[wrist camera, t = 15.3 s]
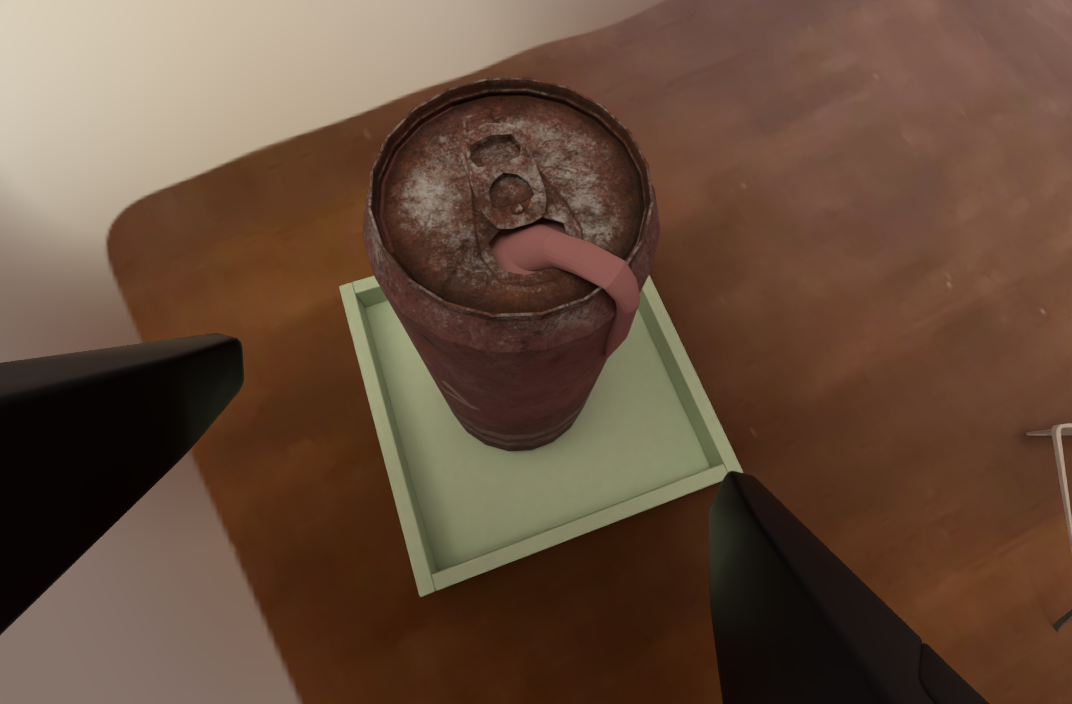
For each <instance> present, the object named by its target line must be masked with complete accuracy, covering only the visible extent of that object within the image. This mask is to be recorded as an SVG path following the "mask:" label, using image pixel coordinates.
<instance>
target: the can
mask: <svg viewBox="0 0 1072 704" xmlns="http://www.w3.org/2000/svg"><path fill="white" fill-rule="evenodd" d="M659 234H660V223H659V216H658V210H657V203H656V196H655V190H654V188H653V186H652V183H651V179H650V172H649V165H648V163H647V161H646V159H645V157H644V156H643V154H642V152H641V150H640V148H639V146H638V144H637V143H636V141H635V139H634V137H633V135H632V133H631V132H630V131H629V130H628V129H627V128H626V127H625V126H624V125H623V124H622V123H621V122H620V121H619V120H618V119H617V118H616V117H615V116H614V115H613V114H612V113H610V112H609V111H608V110H607V109H606V108H605V107H604V106H603V105H602V104H600V103H598V102H596V101H594V100H592V99H590V98H588V97H586V96H584V95H582V94H580V93H579V92H577V91H575V90H573V89H571V88H569V87H567V86H562V85H558V84H554V83H549V82H545V81H541V80H536V79H532V78H486V79H482V80H478V81H474V82H471V83H467V84H463V85H459V86H456V87H452V88H448V89H446V90H444V91H443V92H441V93H439V94H437V95H436V96H434V97H432V98H430V99H429V100H427V101H425V102H423V103H422V104H420V105H418V106H417V107H415V108H413V109H412V110H411V111H410V112H409V113H408V114H407V115H406V116H405V117H404V119H403V120H402V121H401V122H400V123H399V124H398V125H397V126H396V127H395V128H394V129H393V130H392V131H391V132H390V133H389V134H388V135H387V136H386V138H385V141H384V143H383V145H382V147H381V149H380V151H379V154H378V156H377V158H376V160H375V162H374V164H373V167H372V169H371V171H370V185H369V190H368V192H367V195H366V197H365V211H364V225H363V241H364V244H365V247H366V250H367V253H368V257H369V260H370V263H371V266H372V270H373V273H374V276H375V279H376V280H377V282H378V284H379V286H380V287H381V289H382V291H383V293H384V294H385V296H386V298H387V300H388V301H389V303H390V305H391V306H392V308H393V310H394V312H395V313H396V315H397V317H398V319H399V320H400V322H401V324H402V326H403V327H404V329H405V331H406V333H407V334H408V336H409V338H410V340H411V341H412V343H413V345H414V346H415V348H416V350H417V352H418V353H419V355H420V357H421V359H422V360H423V362H424V364H425V366H426V367H427V369H428V371H429V373H430V374H431V376H432V378H433V380H434V381H435V383H436V385H437V386H438V388H439V390H440V392H441V393H442V395H443V397H444V399H445V400H446V402H447V404H448V406H449V407H450V409H451V411H452V413H453V414H454V416H455V417H456V418H457V420H458V421H459V422H460V424H461V425H462V426H463V427H464V429H465V430H466V431H467V433H469V434H470V435H472V436H473V437H475V438H476V439H478V440H479V441H481V442H482V443H484V444H485V445H488V446H491V447H495V448H499V449H502V450H506V451H524V450H533V449H536V448H539V447H541V446H544V445H547V444H549V443H552V442H554V441H555V440H556V439H557V438H559V437H560V436H561V435H562V434H564V433H565V432H566V431H567V430H569V429H570V428H571V426H572V425H573V423H574V422H575V420H576V419H577V417H578V416H579V414H580V412H581V411H582V409H583V407H584V405H585V403H586V401H587V399H588V397H589V395H590V393H591V391H592V389H593V387H594V385H595V383H596V381H597V379H598V377H599V375H600V373H601V371H602V369H603V367H604V365H605V363H606V361H607V359H608V358H609V357H610V356H611V354H612V353H613V352H614V351H615V350H616V349H617V348H618V347H619V346H620V345H621V344H622V343H623V342H624V340H625V339H626V338H627V336H628V334H629V331H630V328H631V325H632V322H633V320H634V317H635V314H636V311H637V309H638V306H639V303H640V292H641V290H642V288H643V286H644V284H645V282H646V280H647V278H648V276H649V274H650V272H651V270H652V265H653V261H654V256H655V252H656V247H657V243H658V238H659Z"/></svg>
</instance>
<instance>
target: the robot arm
mask: <svg viewBox="0 0 1072 704" xmlns="http://www.w3.org/2000/svg"><path fill="white" fill-rule="evenodd" d="M243 381H244V368H243V351H242V344H241V342H240V341H239V340H238V339H237V338H234V337H230V336H226V335H223V334H218V333H213V334H205V335H198V336H191V337H184V338H177V339H169V340H162V341H155V342H148V343H140V344H134V345H127V346H119V347H112V348H104V349H97V350H90V351H84V352H76V353H69V354H62V355H54V356H47V357H40V358H32V359H25V360H18V361H11V362H3V363H0V635H1V634H2V633H3V632H4V631H5V630H6V629H7V628H8V627H9V626H10V625H11V624H12V623H13V622H14V621H15V620H16V619H17V618H18V617H19V616H20V615H21V614H22V613H23V612H24V611H25V610H27V609H28V608H29V607H30V606H31V605H32V604H33V603H34V602H35V601H36V600H37V599H38V598H39V597H40V596H41V595H42V594H43V593H44V592H45V591H46V590H47V589H48V588H49V587H50V586H51V585H52V584H53V583H54V582H55V581H56V580H57V579H58V578H59V577H60V576H61V575H62V574H64V573H65V572H66V571H67V570H68V569H69V568H70V567H71V566H72V565H73V564H74V563H75V562H76V561H77V560H78V559H79V558H80V557H81V556H82V555H83V554H84V553H85V552H86V551H87V550H88V549H89V548H90V547H91V546H92V545H93V544H94V543H95V542H96V541H97V540H98V539H99V538H100V537H102V536H103V535H104V533H106V531H108V530H109V529H110V527H112V526H113V525H114V524H115V523H116V522H117V521H118V520H119V519H120V518H121V517H122V516H123V515H124V514H125V513H126V512H127V511H128V510H129V509H130V508H131V507H132V506H133V505H134V504H135V503H136V502H137V501H138V500H139V499H140V498H142V497H143V496H144V495H145V494H146V493H147V491H149V490H150V489H151V488H152V487H153V486H154V485H155V484H156V483H157V482H158V481H159V480H160V479H161V478H162V477H163V476H164V475H165V474H166V473H167V472H168V471H169V470H170V469H171V468H172V467H173V466H174V465H175V464H176V463H177V462H178V461H179V460H180V459H181V458H182V457H183V456H184V455H185V454H186V453H187V452H188V451H189V450H190V449H191V448H192V447H193V445H194V444H195V443H196V442H197V441H198V440H199V439H200V437H201V436H202V435H203V434H204V433H205V431H206V430H207V429H208V428H209V427H210V425H211V424H212V423H213V422H214V421H215V420H216V418H217V417H218V416H219V415H220V414H221V412H222V411H223V410H224V409H225V408H226V406H227V405H228V404H229V403H230V402H231V400H232V399H233V398H234V397H235V396H236V395H237V393H238V392H239V391H240V389H241V387H242V385H243ZM709 592H710V607H711V616H712V624H713V631H714V639H715V647H716V654H717V662H718V670H719V677H720V685H721V693H722V700H723V704H989V703H988V702H987V701H986V700H985V699H984V698H983V697H982V696H981V695H980V694H978V693H977V692H976V691H975V690H974V689H973V688H972V687H971V686H970V685H969V684H968V683H967V682H966V681H965V680H964V679H963V678H962V677H960V676H959V675H958V674H957V673H956V672H955V671H954V670H953V669H952V668H951V667H950V666H949V665H948V664H947V663H946V662H945V661H944V660H943V659H942V658H941V657H940V656H939V655H938V654H937V653H936V652H935V651H934V650H933V649H932V648H931V647H930V646H928V645H927V644H925V643H923V644H922V640H921V638H920V637H919V636H918V635H917V634H916V633H915V632H914V631H913V630H912V629H911V628H910V627H909V626H908V625H907V624H906V623H905V622H904V621H903V620H901V619H900V618H899V617H898V616H897V615H896V614H895V613H894V612H893V611H892V610H891V609H890V608H889V607H888V606H887V605H886V604H885V603H884V602H883V601H882V600H881V599H880V598H879V597H878V596H877V595H876V594H875V593H874V592H873V591H872V590H871V589H870V588H869V587H867V586H866V585H865V584H864V583H863V582H862V581H861V580H860V579H859V578H858V577H857V576H856V575H855V574H854V573H853V572H852V571H851V570H850V569H849V568H848V567H847V566H846V565H845V564H844V563H843V562H842V561H841V560H840V559H839V558H838V557H837V556H836V555H834V554H833V553H832V552H831V551H830V550H829V549H828V548H827V547H826V546H825V545H824V544H823V543H822V542H821V541H820V540H819V539H818V538H817V537H816V536H815V535H814V534H813V533H812V532H811V531H810V530H809V529H808V528H807V527H806V526H805V525H804V524H803V523H802V522H800V521H799V520H798V519H797V518H796V517H795V516H794V515H793V514H792V513H791V512H790V511H789V510H788V509H787V508H786V507H785V506H784V505H783V504H782V503H781V502H780V501H779V500H778V499H777V498H776V497H775V496H774V495H773V494H772V493H771V492H770V491H769V490H768V489H766V488H765V487H764V486H763V485H762V484H761V483H760V482H759V481H758V480H757V479H756V478H755V477H754V476H751V475H748V474H744V473H740V472H737V471H730V472H728V473H727V474H726V475H725V477H724V479H723V481H722V483H721V485H720V488H719V490H718V492H717V494H716V496H715V498H714V501H713V503H712V505H711V508H710V512H709Z"/></svg>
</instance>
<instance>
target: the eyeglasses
mask: <svg viewBox="0 0 1072 704" xmlns="http://www.w3.org/2000/svg"><path fill="white" fill-rule="evenodd" d="M1025 434H1026V435H1052V439H1053V445H1054V451H1055V457H1056V463H1057V469H1058V475H1059V481H1060V487H1061V493H1062V499H1063V505H1064V511H1065V517H1066V523H1067V529H1068V535H1069V542H1070V548H1071V554H1072V517H1071V510H1070V502H1069V494H1068V487H1067V479H1066V472H1065V464H1064V456H1063V449H1062V441H1061V436H1072V423H1070V424H1059V425H1054V426H1053V427H1052V429H1047V430H1040V431H1032V432H1026V433H1025ZM1071 619H1072V610H1071V611H1069V612H1068V613H1067V614H1066V615H1064V616H1063V617H1062V618H1060V619H1059V620H1058V621H1057V622H1056V623H1055V624H1054V627H1055V629H1056V631H1057V632H1059V630H1060V629H1061V627H1062V626H1063V625H1064V624H1065V623H1067V622H1068V621H1069V620H1071Z"/></svg>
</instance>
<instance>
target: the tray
mask: <svg viewBox="0 0 1072 704" xmlns="http://www.w3.org/2000/svg"><path fill="white" fill-rule="evenodd" d="M339 289H340V293H341V297H342V300H343V304H344V308H345V312H346V316H347V320H348V323H349V327H350V331H351V335H352V339H353V343H354V346H355V350H356V354H357V358H358V362H359V366H360V369H361V373H362V377H363V381H364V385H365V389H366V392H367V396H368V400H369V404H370V408H371V412H372V416H373V419H374V423H375V427H376V431H377V435H378V439H379V442H380V446H381V450H382V454H383V458H384V462H385V465H386V469H387V473H388V477H389V481H390V485H391V488H392V492H393V496H394V500H395V504H396V508H397V511H398V515H399V519H400V523H401V527H402V531H403V535H404V538H405V542H406V546H407V550H408V554H409V558H410V561H411V565H412V569H413V573H414V577H415V581H416V584H417V588H418V592H419V596H420V597H422V596H425V595H427V594H430V593H433V592H435V591H436V590H440V589H443V588H446V587H448V586H451V585H453V584H456V583H459V582H461V581H464V580H466V579H469V578H472V577H474V576H477V575H479V574H482V573H485V572H487V571H490V570H492V569H495V568H497V567H500V566H503V565H505V564H508V563H510V562H513V561H516V560H518V559H521V558H523V557H526V556H529V555H531V554H534V553H536V552H539V551H542V550H544V549H547V548H549V547H552V546H555V545H557V544H560V543H562V542H565V541H568V540H570V539H573V538H575V537H578V536H581V535H583V534H586V533H588V532H591V531H593V530H596V529H599V528H601V527H604V526H606V525H609V524H612V523H614V522H617V521H619V520H622V519H625V518H627V517H630V516H632V515H635V514H638V513H640V512H643V511H645V510H648V509H651V508H653V507H656V506H658V505H661V504H664V503H666V502H669V501H671V500H674V499H677V498H679V497H682V496H684V495H687V494H689V493H692V492H695V491H697V490H700V489H702V488H705V487H708V486H710V485H713V484H715V483H718V482H721V481H723V479H724V477H725V475H726V474H727V473H728V472H730V471H737V472H740V473H743V470H742V468H741V466H740V464H739V462H738V460H737V458H736V456H735V454H734V452H733V449H732V447H731V445H730V443H729V441H728V439H727V437H726V435H725V433H724V431H723V428H722V426H721V424H720V422H719V420H718V418H717V416H716V414H715V412H714V410H713V408H712V405H711V403H710V401H709V399H708V397H707V395H706V393H705V391H704V389H703V387H702V384H701V382H700V380H699V378H698V376H697V374H696V372H695V370H694V368H693V366H692V363H691V361H690V359H689V357H688V355H687V353H686V351H685V349H684V347H683V345H682V343H681V340H680V338H679V336H678V334H677V332H676V330H675V328H674V326H673V324H672V322H671V319H670V317H669V315H668V313H667V311H666V309H665V307H664V305H663V303H662V301H661V298H660V296H659V294H658V292H657V290H656V288H655V286H654V284H653V282H652V280H651V278H650V275H649V276H648V278H647V280H646V282H645V284H644V286H643V288H642V290H641V292H640V303H639V306H638V309H637V311H636V314H635V317H634V320H633V322H632V325H631V328H630V331H629V334H628V336H627V338H626V339H625V340H624V342H623V343H622V344H621V345H620V346H619V347H618V348H617V349H616V350H615V351H614V352H613V353H612V354H611V356H610V357H609V358H608V359H607V361H606V363H605V365H604V367H603V369H602V371H601V373H600V375H599V377H598V379H597V381H596V383H595V385H594V387H593V389H592V391H591V393H590V395H589V397H588V399H587V401H586V403H585V405H584V407H583V409H582V411H581V412H580V414H579V416H578V417H577V419H576V420H575V422H574V423H573V425H572V426H571V428H570V429H569V430H567V431H566V432H565V433H564V434H562V435H561V436H560V437H559V438H557V439H556V440H555V441H554V442H552V443H549V444H547V445H544V446H541V447H539V448H536V449H533V450H524V451H506V450H502V449H499V448H495V447H491V446H488V445H485V444H484V443H482V442H481V441H479V440H478V439H476V438H475V437H473V436H472V435H470V434H469V433H467V431H466V430H465V429H464V427H463V426H462V425H461V424H460V422H459V421H458V420H457V418H456V417H455V416H454V414H453V413H452V411H451V409H450V407H449V406H448V404H447V402H446V400H445V399H444V397H443V395H442V393H441V392H440V390H439V388H438V386H437V385H436V383H435V381H434V380H433V378H432V376H431V374H430V373H429V371H428V369H427V367H426V366H425V364H424V362H423V360H422V359H421V357H420V355H419V353H418V352H417V350H416V348H415V346H414V345H413V343H412V341H411V340H410V338H409V336H408V334H407V333H406V331H405V329H404V327H403V326H402V324H401V322H400V320H399V319H398V317H397V315H396V313H395V312H394V310H393V308H392V306H391V305H390V303H389V301H388V300H387V298H386V296H385V294H384V293H383V291H382V289H381V287H380V286H379V284H378V282H377V280H376V279H375V276H372V277H368V278H365V279H361V280H358V281H355V282H353V283H348V284H345V285H341V286H339Z"/></svg>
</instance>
